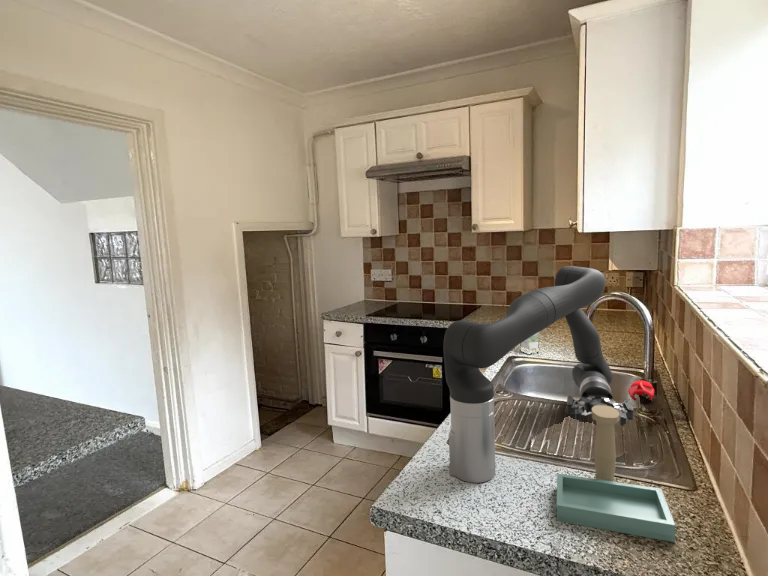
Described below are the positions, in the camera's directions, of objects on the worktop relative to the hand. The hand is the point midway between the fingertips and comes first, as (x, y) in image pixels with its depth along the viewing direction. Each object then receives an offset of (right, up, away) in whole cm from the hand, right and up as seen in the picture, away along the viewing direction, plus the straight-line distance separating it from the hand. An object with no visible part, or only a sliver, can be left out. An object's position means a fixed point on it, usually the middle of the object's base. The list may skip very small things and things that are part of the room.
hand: (601, 419), depth 99 cm
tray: (-8, -11, -19) cm, 23 cm away
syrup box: (+13, +2, +88) cm, 89 cm away
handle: (-4, -10, -9) cm, 14 cm away
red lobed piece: (+28, -4, +32) cm, 43 cm away
